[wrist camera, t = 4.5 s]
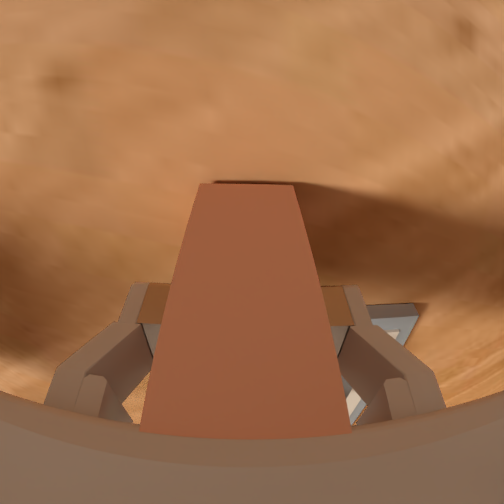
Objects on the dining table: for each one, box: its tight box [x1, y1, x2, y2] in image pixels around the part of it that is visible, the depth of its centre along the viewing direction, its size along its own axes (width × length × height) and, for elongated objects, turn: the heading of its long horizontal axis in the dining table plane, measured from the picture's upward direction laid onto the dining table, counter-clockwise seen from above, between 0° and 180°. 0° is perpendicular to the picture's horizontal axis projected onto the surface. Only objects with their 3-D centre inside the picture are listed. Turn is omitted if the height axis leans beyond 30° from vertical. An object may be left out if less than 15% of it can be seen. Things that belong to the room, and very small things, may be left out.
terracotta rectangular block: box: [139, 184, 352, 440], centre depth 8 cm, size 4×4×12 cm
